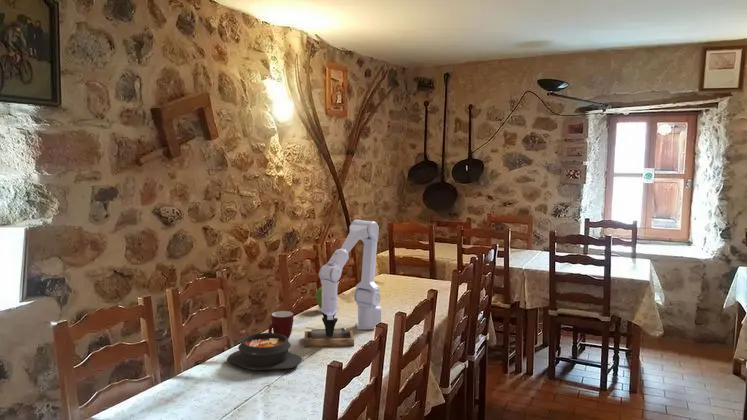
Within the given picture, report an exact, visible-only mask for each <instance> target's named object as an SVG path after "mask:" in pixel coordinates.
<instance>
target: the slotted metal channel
mask: <svg viewBox="0 0 747 420" xmlns="http://www.w3.org/2000/svg"><path fill="white" fill-rule="evenodd" d="M310 331H311V339H343V338H346V337H347V328H346V327H341V328H334V332H333V336H332V337H327V336H326V330H325V328H314V329H313V328H311V330H310Z"/></svg>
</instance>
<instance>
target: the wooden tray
mask: <svg viewBox="0 0 747 420" xmlns="http://www.w3.org/2000/svg"><path fill="white" fill-rule="evenodd" d="M346 330H347V329H346ZM324 347H325V348H326V347H327V348H329V347H332V348H333V347H355V337H354V333H353V330H351V329H350V330H347V337H346V338H343V339H311V330H306V331H305V330H304V348H324Z"/></svg>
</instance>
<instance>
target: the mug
mask: <svg viewBox="0 0 747 420" xmlns="http://www.w3.org/2000/svg"><path fill="white" fill-rule="evenodd" d="M293 325H294V312H292V311H288V310H280V311H279V310H278V311H274V312H272V313H271V324H270V325H269V327H268V332H267V333H277V334H281V335H284V336H286V337H287V339H288V340H289V338H291V335H292V332H293Z"/></svg>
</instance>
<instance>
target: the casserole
mask: <svg viewBox="0 0 747 420" xmlns="http://www.w3.org/2000/svg"><path fill="white" fill-rule="evenodd" d="M291 346H292V344H291V343H290V342H289V339H287V337H286V336H284V335H281V334H277V333H273V332H272V333H269V332H261V333H260V332H259V333H253V334H250V335H247V336H245V337H243V338H242V340H241V342H240V344H239V345H238V346H237V347H238V348H237V349H238V350H236V351H234V352H232V353H231V354H229V355H228V357H227V358H226V361H227V362H228V363H230V364H234V365H237V366H239V367H241V368H243V369H247V370H252V371H271V370H290V369H292V368H295V367H297V366H299V365H300V364H301V363H302V362H303V357H302V356H301V355H300V354H297V353H291V352H290V351H289V349H290V348H291Z"/></svg>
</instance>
